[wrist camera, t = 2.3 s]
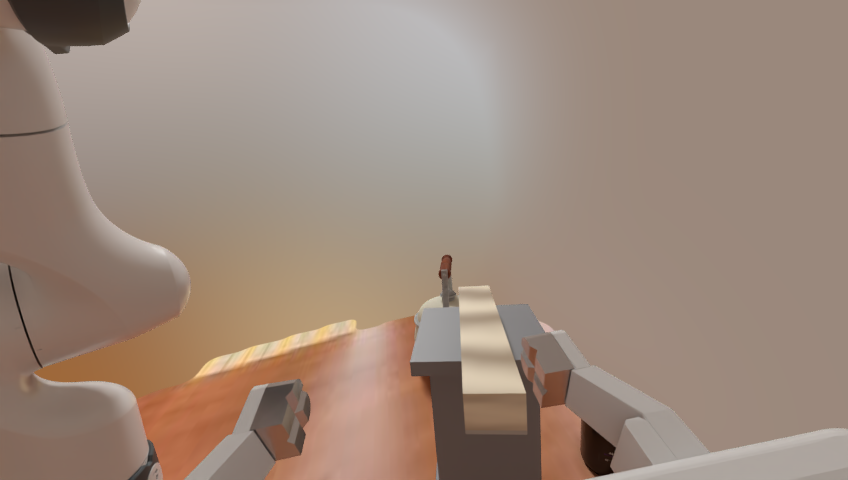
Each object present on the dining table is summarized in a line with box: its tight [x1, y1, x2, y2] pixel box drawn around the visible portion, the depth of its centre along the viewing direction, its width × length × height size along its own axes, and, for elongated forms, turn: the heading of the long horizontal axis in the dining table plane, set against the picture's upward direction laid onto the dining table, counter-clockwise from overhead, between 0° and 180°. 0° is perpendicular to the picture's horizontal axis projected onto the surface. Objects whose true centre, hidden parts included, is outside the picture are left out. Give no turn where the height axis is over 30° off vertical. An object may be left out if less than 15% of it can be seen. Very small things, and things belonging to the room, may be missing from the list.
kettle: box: [414, 255, 459, 341], centre depth 75 cm, size 25×18×25 cm
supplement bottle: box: [581, 419, 616, 476], centre depth 44 cm, size 7×7×12 cm
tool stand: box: [410, 304, 545, 480], centre depth 37 cm, size 13×14×26 cm
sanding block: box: [459, 286, 527, 435], centre depth 30 cm, size 21×4×3 cm, turn 174°
